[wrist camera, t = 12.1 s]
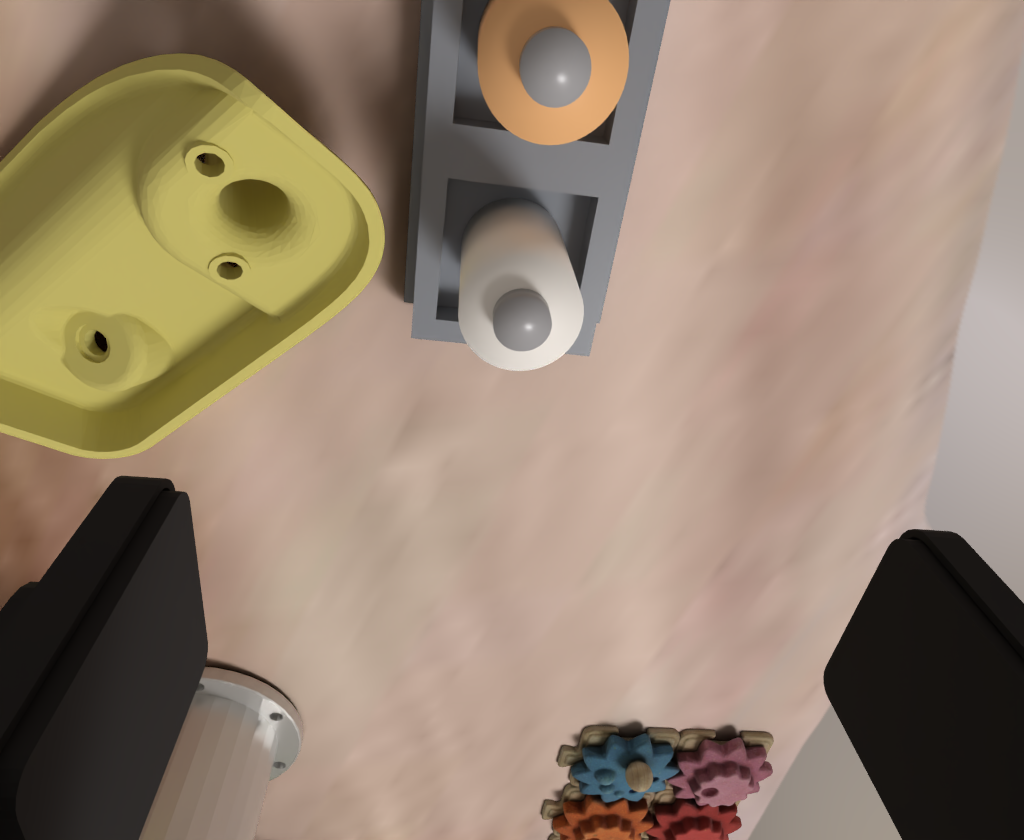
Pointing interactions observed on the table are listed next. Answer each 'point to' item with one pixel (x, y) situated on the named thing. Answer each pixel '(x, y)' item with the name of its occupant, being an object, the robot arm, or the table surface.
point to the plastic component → (165, 252)
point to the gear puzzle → (656, 784)
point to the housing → (514, 165)
